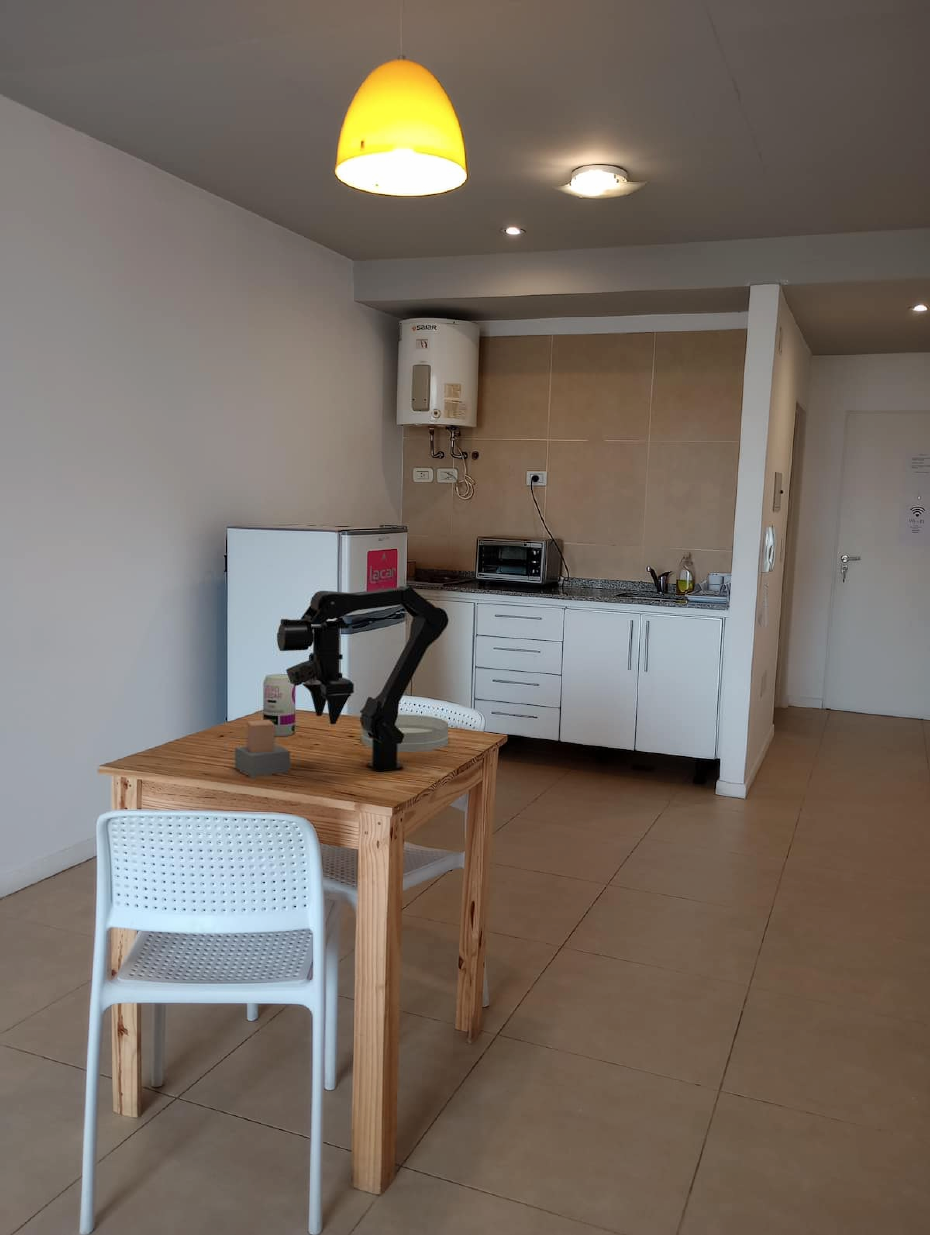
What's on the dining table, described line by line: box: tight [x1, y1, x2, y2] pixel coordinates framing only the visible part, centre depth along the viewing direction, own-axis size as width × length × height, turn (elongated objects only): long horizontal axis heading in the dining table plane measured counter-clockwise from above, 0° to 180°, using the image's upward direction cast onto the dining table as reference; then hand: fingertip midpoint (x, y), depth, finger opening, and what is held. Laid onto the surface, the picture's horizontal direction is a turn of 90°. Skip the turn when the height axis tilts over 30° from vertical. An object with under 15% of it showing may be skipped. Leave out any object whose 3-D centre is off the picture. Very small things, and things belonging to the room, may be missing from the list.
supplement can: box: [262, 673, 297, 737], centre depth 253 cm, size 8×8×15 cm
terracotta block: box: [246, 719, 276, 753], centre depth 216 cm, size 5×5×6 cm
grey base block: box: [234, 743, 291, 778], centre depth 217 cm, size 9×9×5 cm
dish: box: [360, 714, 450, 753], centre depth 248 cm, size 22×22×5 cm
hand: (325, 720), depth 214 cm, fingers open, 9 cm apart
